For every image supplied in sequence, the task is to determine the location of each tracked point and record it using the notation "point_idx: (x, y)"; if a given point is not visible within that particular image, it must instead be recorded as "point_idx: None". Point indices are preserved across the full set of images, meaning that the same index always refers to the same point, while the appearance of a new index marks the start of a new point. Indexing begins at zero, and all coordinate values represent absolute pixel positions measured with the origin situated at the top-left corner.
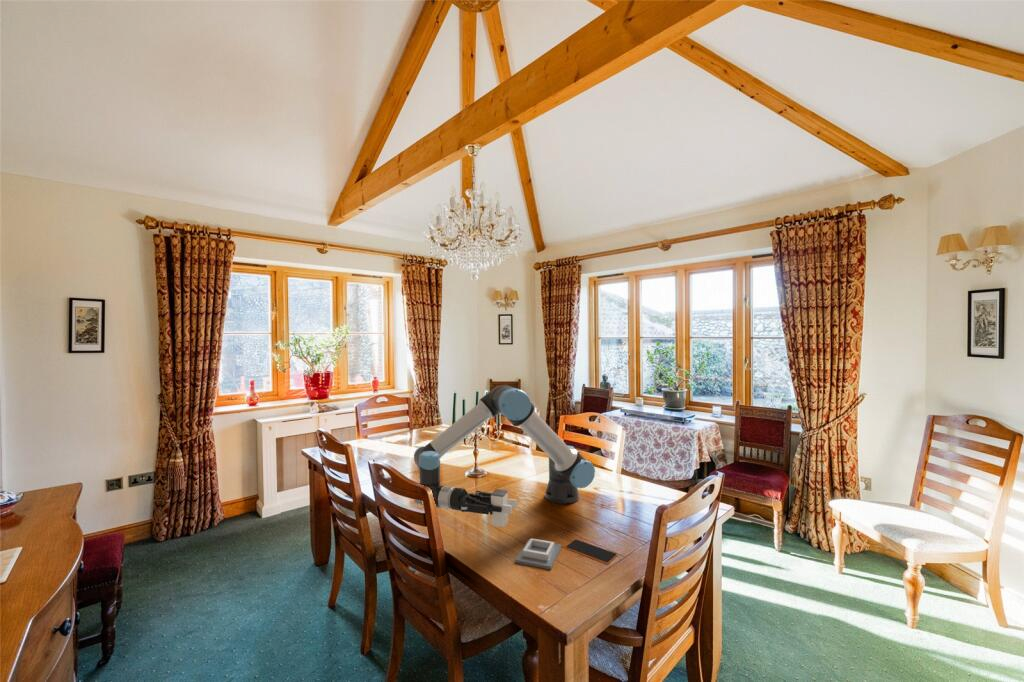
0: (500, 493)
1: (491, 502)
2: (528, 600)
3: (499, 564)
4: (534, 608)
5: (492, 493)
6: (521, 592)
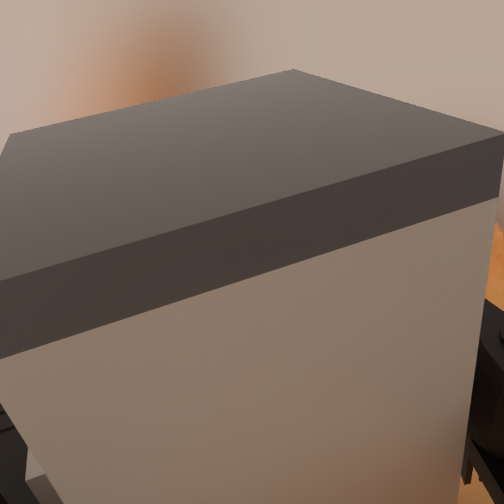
0: (249, 103)
1: (462, 373)
2: (494, 255)
3: (482, 498)
4: (497, 231)
5: (431, 133)
6: (495, 286)
